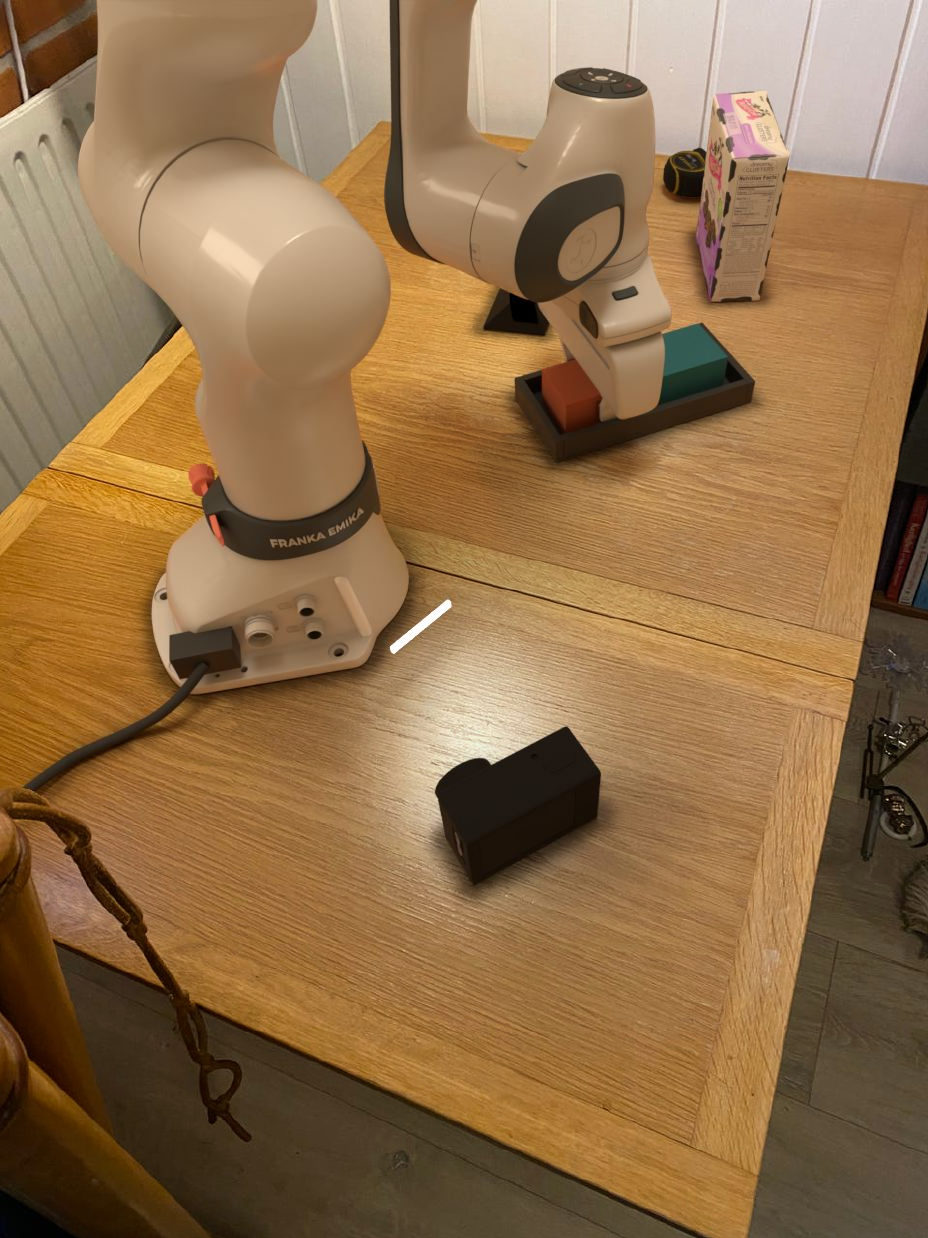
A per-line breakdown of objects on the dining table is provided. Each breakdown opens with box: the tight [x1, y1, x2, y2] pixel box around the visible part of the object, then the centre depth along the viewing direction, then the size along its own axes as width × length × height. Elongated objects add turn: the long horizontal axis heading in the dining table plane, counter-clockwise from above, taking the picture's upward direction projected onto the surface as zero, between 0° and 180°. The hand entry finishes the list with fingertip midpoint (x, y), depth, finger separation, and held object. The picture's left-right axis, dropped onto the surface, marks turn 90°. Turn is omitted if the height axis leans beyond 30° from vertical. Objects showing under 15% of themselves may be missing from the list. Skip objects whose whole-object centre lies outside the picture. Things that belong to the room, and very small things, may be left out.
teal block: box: [657, 322, 728, 406], centre depth 95 cm, size 8×6×4 cm
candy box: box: [695, 89, 791, 303], centre depth 103 cm, size 14×6×16 cm, turn 178°
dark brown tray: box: [513, 322, 756, 464], centre depth 96 cm, size 21×11×3 cm, turn 110°
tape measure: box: [662, 147, 707, 199], centre depth 119 cm, size 7×7×4 cm
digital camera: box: [434, 725, 602, 887], centre depth 67 cm, size 10×5×7 cm, turn 118°
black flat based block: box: [481, 288, 551, 337], centre depth 107 cm, size 12×7×5 cm, turn 164°
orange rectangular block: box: [541, 359, 603, 434], centre depth 94 cm, size 8×6×4 cm
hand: (590, 395), depth 94 cm, fingers closed on orange rectangular block, 6 cm apart
